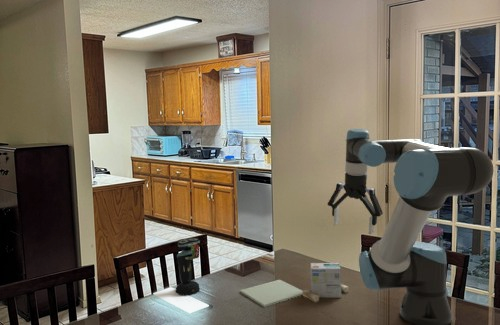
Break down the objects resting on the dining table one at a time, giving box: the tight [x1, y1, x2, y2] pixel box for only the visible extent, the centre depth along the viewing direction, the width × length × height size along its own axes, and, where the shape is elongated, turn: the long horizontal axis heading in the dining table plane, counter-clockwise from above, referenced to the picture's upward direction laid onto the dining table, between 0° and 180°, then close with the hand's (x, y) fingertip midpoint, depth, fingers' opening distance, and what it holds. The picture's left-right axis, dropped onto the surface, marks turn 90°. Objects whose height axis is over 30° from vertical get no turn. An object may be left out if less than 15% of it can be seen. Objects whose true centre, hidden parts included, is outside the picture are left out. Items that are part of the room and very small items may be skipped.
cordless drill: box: [175, 237, 201, 296], centre depth 167 cm, size 9×12×20 cm
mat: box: [239, 279, 304, 308], centre depth 163 cm, size 16×18×1 cm
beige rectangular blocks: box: [302, 283, 350, 303], centre depth 161 cm, size 7×16×2 cm, turn 122°
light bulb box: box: [310, 262, 342, 299], centre depth 161 cm, size 11×7×11 cm, turn 84°
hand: (353, 228), depth 164 cm, fingers open, 13 cm apart
